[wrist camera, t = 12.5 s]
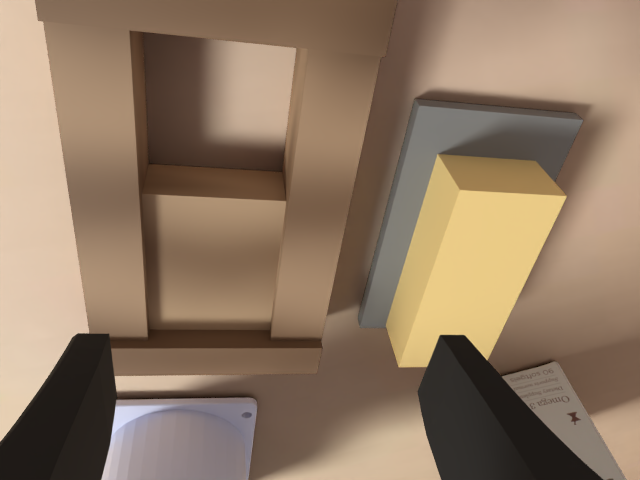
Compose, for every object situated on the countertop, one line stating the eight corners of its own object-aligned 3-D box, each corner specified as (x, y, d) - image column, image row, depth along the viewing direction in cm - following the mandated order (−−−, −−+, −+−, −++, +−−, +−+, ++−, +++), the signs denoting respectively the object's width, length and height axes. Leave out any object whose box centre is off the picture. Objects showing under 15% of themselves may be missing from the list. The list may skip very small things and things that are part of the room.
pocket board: (308, 322, 26) (316, 373, 23) (106, 321, 24) (93, 376, 22) (374, -29, 17) (398, -4, 14) (58, -72, 15) (27, -51, 13)
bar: (465, 325, 26) (484, 366, 24) (385, 325, 26) (398, 367, 24) (535, 160, 21) (567, 196, 19) (437, 154, 20) (459, 190, 18)
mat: (482, 319, 27) (486, 328, 27) (357, 318, 26) (360, 328, 26) (575, 113, 21) (583, 120, 20) (414, 98, 20) (419, 105, 19)
